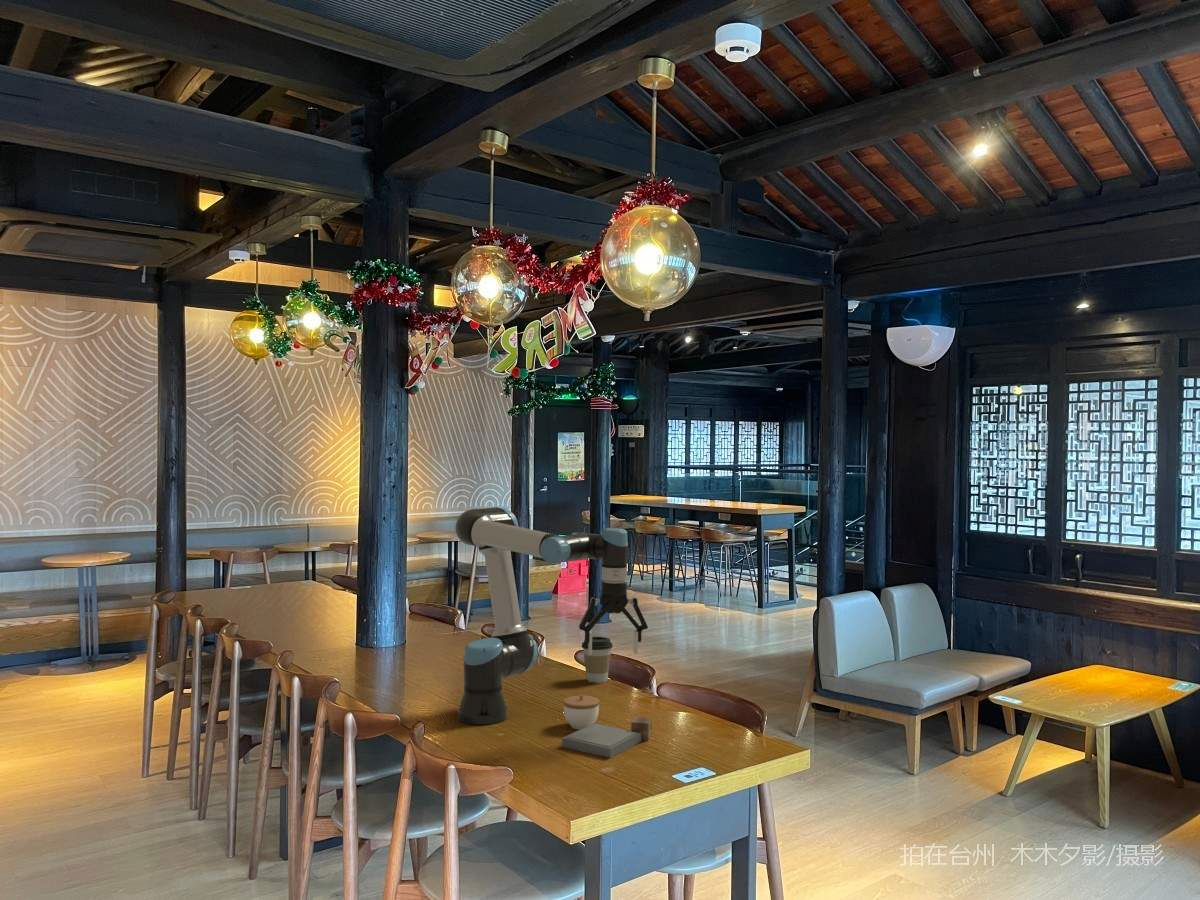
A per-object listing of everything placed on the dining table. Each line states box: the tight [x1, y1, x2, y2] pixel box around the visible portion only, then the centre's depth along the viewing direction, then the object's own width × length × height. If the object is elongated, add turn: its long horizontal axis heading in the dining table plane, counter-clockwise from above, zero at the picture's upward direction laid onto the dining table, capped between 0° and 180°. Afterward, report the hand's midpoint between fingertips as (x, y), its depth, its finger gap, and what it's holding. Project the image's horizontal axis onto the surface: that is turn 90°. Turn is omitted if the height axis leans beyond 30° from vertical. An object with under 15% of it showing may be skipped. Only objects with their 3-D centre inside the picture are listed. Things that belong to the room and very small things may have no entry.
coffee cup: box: [581, 636, 613, 684], centre depth 303 cm, size 11×11×15 cm
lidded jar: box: [562, 694, 600, 730], centre depth 251 cm, size 11×11×9 cm
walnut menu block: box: [630, 716, 653, 742], centre depth 241 cm, size 5×5×5 cm
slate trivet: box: [561, 722, 642, 759], centre depth 235 cm, size 16×16×3 cm
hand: (612, 653), depth 247 cm, fingers open, 13 cm apart
